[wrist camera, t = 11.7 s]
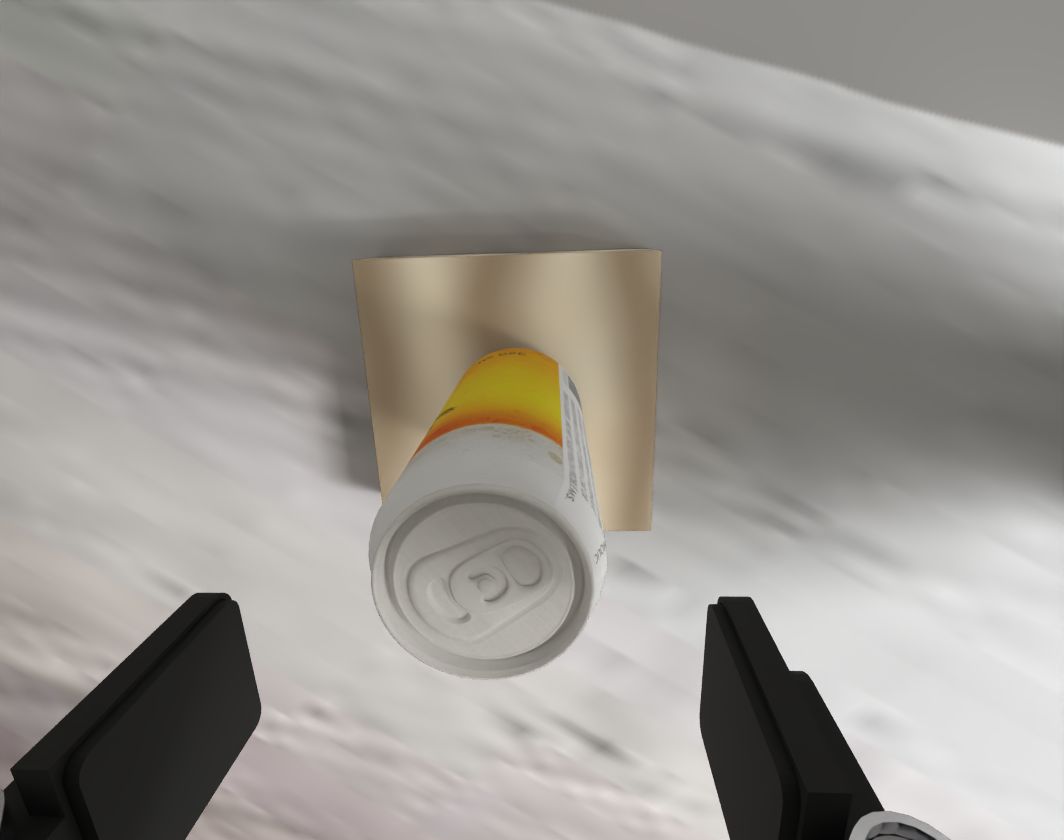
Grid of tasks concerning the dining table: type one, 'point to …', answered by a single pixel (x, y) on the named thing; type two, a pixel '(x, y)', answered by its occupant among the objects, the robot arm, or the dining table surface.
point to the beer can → (493, 526)
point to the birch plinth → (519, 322)
